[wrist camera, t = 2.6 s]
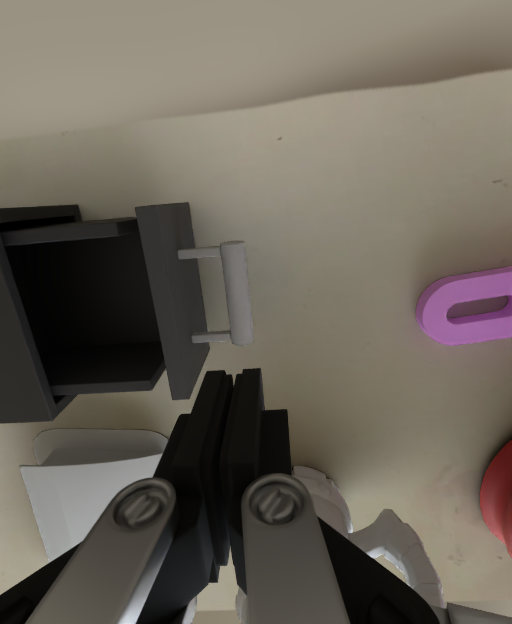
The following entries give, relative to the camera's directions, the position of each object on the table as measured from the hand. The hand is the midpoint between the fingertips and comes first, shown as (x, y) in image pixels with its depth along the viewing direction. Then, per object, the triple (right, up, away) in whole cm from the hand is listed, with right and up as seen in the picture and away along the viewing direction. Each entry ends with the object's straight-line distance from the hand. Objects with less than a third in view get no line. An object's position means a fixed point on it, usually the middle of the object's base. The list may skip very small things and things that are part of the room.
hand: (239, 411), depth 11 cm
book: (-15, -20, +28) cm, 37 cm away
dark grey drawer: (-9, +5, +18) cm, 21 cm away
